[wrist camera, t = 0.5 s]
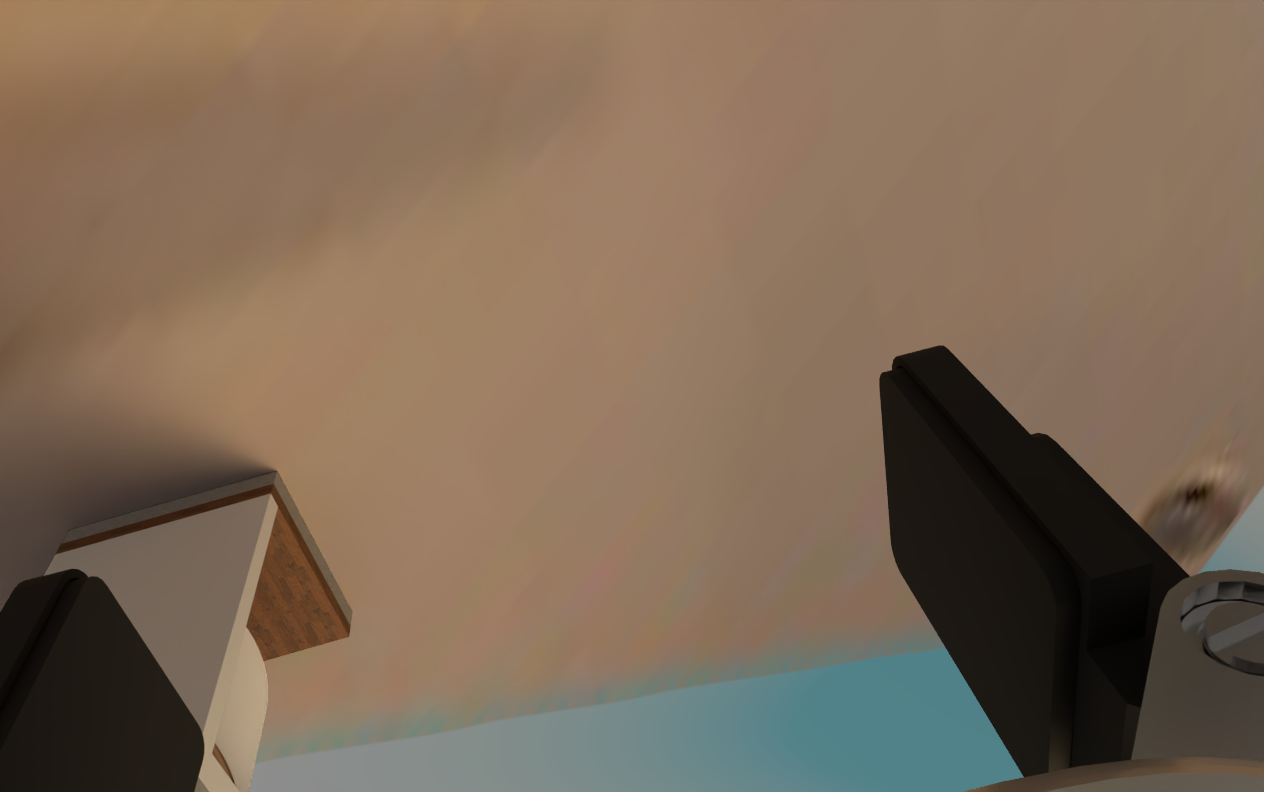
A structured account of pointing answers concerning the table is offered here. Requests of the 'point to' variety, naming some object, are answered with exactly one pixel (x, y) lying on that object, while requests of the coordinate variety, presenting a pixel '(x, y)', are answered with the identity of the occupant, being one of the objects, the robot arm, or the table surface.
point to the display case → (217, 603)
